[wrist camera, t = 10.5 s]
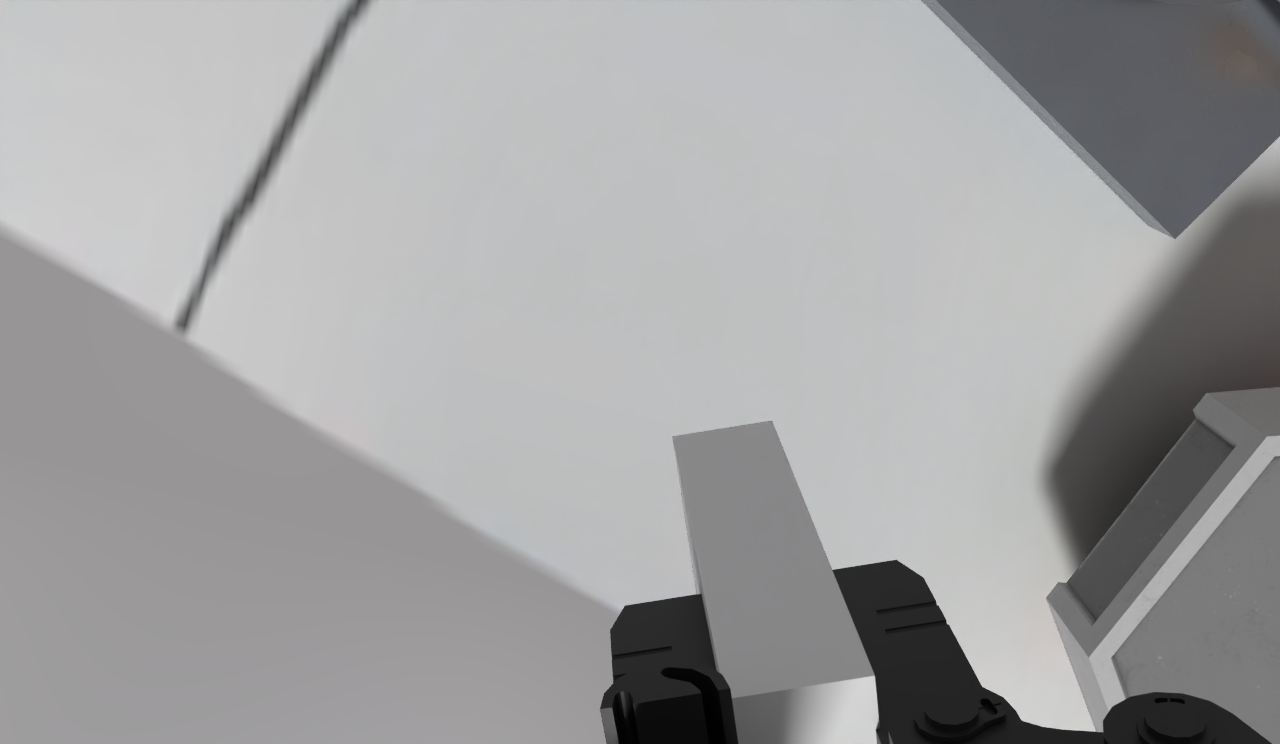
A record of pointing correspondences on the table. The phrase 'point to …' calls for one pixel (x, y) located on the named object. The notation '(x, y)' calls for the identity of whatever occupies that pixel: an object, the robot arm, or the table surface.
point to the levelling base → (1140, 88)
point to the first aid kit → (1189, 574)
